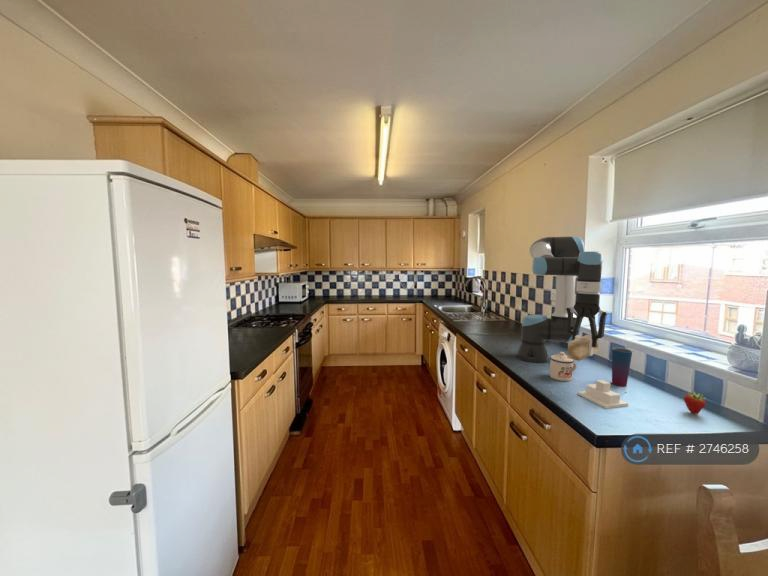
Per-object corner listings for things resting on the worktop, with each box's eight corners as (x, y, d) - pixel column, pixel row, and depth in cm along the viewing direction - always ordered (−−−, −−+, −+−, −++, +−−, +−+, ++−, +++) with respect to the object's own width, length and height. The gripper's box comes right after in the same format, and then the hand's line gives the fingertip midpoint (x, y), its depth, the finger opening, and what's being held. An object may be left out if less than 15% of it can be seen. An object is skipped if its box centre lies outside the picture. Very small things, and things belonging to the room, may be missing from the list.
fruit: (699, 418, 104) (702, 395, 103) (679, 411, 109) (681, 389, 108) (707, 415, 106) (709, 393, 105) (687, 408, 111) (689, 387, 110)
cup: (632, 388, 128) (636, 352, 127) (614, 386, 130) (617, 351, 128) (623, 381, 135) (626, 348, 134) (606, 380, 136) (608, 347, 135)
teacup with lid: (559, 382, 134) (560, 356, 132) (544, 374, 142) (546, 349, 141) (583, 380, 136) (584, 354, 135) (567, 373, 145) (568, 348, 144)
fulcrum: (577, 394, 122) (579, 376, 121) (598, 392, 124) (600, 375, 123) (605, 408, 110) (607, 389, 110) (628, 405, 112) (629, 387, 112)
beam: (567, 358, 114) (568, 341, 113) (586, 349, 126) (587, 334, 126) (579, 360, 110) (580, 344, 110) (597, 351, 123) (599, 336, 123)
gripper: (559, 291, 121) (555, 350, 123) (612, 295, 107) (607, 361, 109) (566, 290, 125) (563, 347, 127) (618, 294, 112) (613, 357, 114)
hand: (583, 353), depth 118 cm, fingers closed on beam, 4 cm apart
